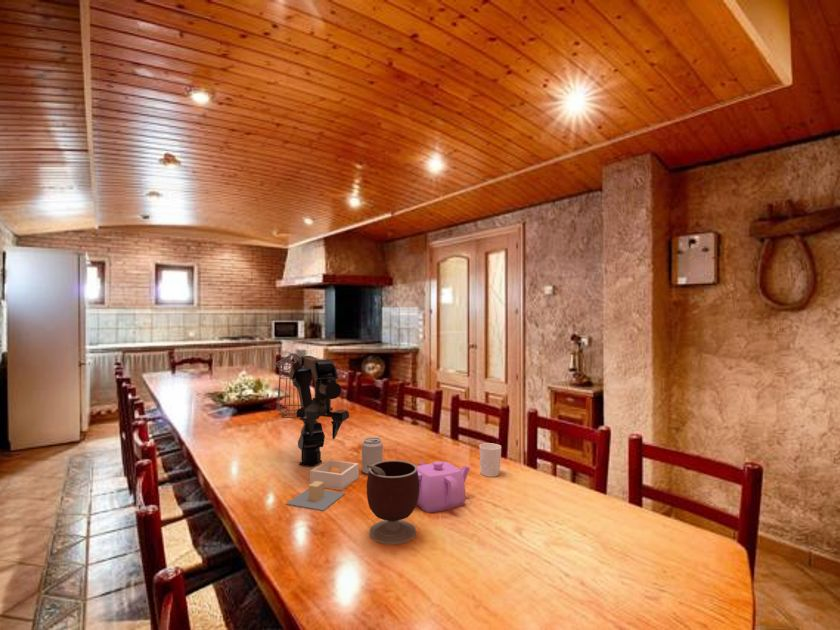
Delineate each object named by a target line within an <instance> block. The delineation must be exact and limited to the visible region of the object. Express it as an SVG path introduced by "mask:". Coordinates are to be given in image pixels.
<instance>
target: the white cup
mask: <svg viewBox="0 0 840 630" xmlns="http://www.w3.org/2000/svg"><path fill="white" fill-rule="evenodd" d="M478 449H479V465H480V474H481V475H482V476H484V477H491V478H494V477H495V478H496V477H498V476H500V472H501V470H500V469H501V460H502V457H501V456H502V445H500V444H497V443H492V442H491V443H490V442H484V443H481V444H479V447H478Z"/></svg>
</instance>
